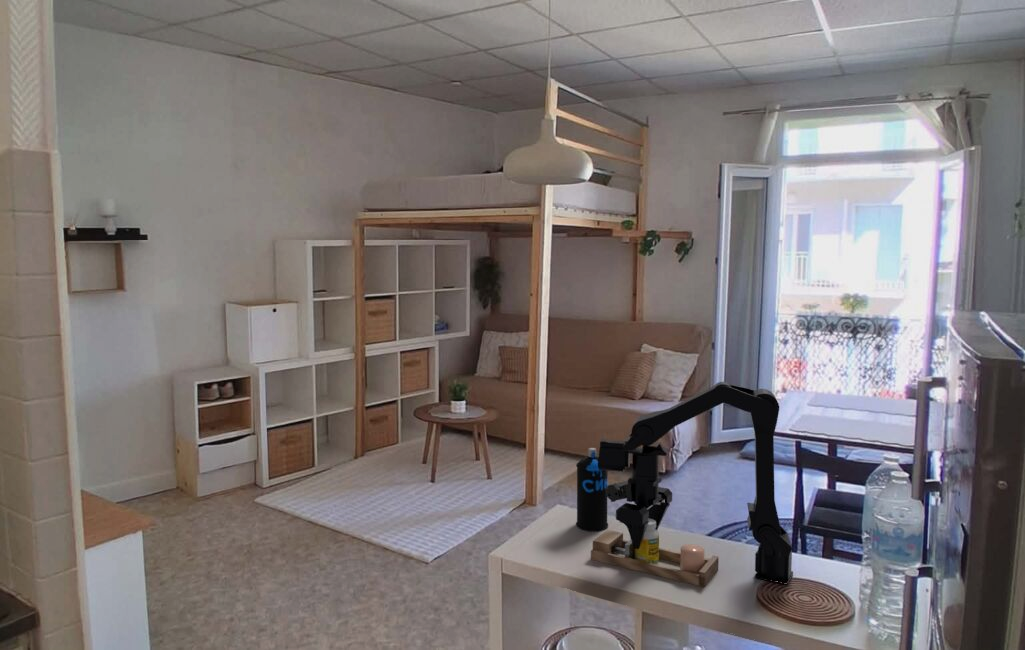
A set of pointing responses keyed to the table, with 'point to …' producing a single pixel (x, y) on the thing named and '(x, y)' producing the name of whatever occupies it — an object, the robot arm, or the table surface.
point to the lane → (614, 538)
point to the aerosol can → (591, 494)
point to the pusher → (625, 550)
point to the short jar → (692, 558)
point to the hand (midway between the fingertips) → (644, 541)
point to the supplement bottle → (649, 545)
